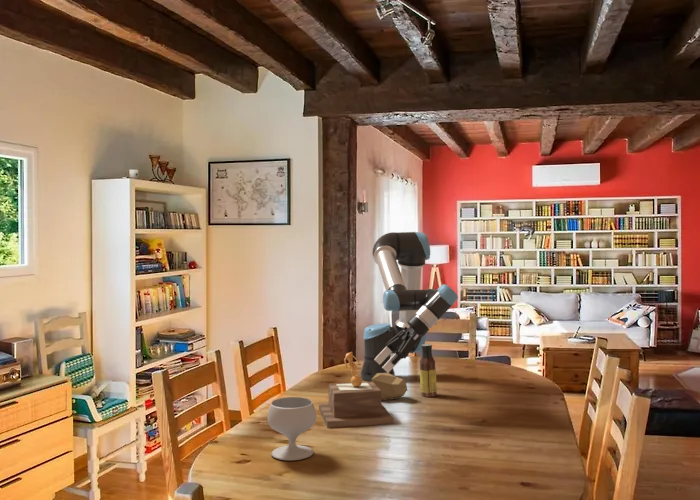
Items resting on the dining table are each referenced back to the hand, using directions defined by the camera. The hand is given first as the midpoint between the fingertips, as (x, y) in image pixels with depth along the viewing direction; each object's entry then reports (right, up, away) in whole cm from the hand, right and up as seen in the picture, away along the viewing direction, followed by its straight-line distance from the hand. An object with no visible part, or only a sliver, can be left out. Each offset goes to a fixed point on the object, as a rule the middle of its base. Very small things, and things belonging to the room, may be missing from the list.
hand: (380, 366), depth 215 cm
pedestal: (-9, -17, -1) cm, 19 cm away
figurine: (-9, -7, -1) cm, 12 cm away
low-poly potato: (+4, -17, +20) cm, 27 cm away
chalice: (-27, -18, -38) cm, 50 cm away
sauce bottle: (+20, -16, +25) cm, 36 cm away
